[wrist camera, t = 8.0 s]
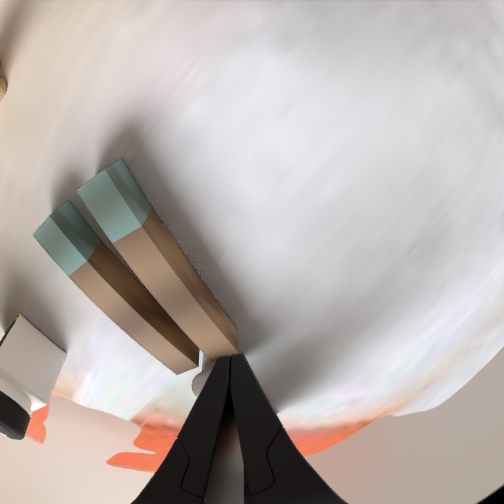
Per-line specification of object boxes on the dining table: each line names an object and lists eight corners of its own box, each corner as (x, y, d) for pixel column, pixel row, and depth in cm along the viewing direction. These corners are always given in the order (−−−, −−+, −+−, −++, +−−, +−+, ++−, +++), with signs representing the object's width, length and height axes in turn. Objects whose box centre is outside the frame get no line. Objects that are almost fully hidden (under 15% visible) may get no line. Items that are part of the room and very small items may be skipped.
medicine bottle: (19, 311, 22) (-29, 400, 12) (68, 353, 26) (35, 446, 15) (4, 334, 24) (-35, 410, 14) (46, 370, 27) (18, 448, 17)
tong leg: (237, 329, 24) (238, 353, 22) (213, 337, 25) (212, 362, 22) (121, 157, 16) (104, 169, 14) (94, 176, 17) (76, 190, 14)
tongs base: (259, 359, 27) (263, 393, 23) (212, 377, 28) (212, 410, 25) (95, 173, 17) (68, 193, 13) (51, 217, 18) (24, 243, 15)
